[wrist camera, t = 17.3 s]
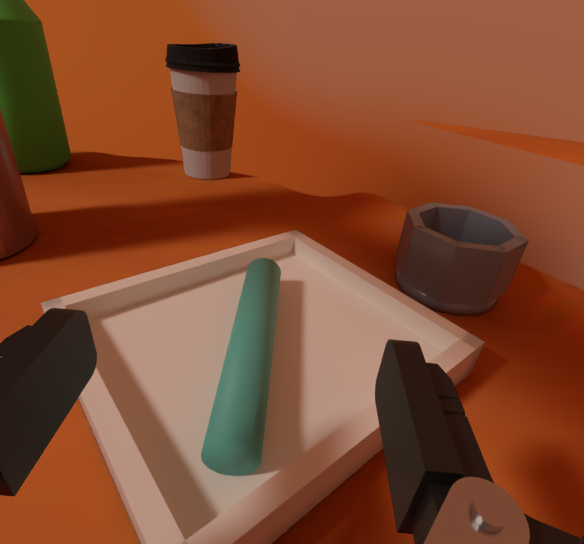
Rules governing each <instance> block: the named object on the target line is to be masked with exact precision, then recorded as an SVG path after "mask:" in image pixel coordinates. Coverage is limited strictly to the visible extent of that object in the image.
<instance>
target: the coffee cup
mask: <svg viewBox="0 0 584 544" xmlns="http://www.w3.org/2000/svg"><path fill="white" fill-rule="evenodd" d="M165 60H166V62H167V65H166V66H167V67H168V68H170V72H171V79H172V86H173V87H172V88H171V91H172V97H173V103H174V109H175V115H176V121H177V127H178V132H179V139H180V145H181V149H182V157H183V164H184V170H185V173H186V175H188V176H190V177H192V178H196V179H205V180H213V179H221V178H224V177H227V176H228V175H229V174H230V165H231V150H232V141H233V130H234V118H235V108H236V97H237V92H236V91H235V88H236V74H237V72H240V70H239V66H240V64H239V60H238V51H237V45H233V44H223V43H212V44H168V45H167V57H166V59H165Z"/></svg>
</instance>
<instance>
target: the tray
mask: <svg viewBox="0 0 584 544" xmlns="http://www.w3.org/2000/svg"><path fill="white" fill-rule="evenodd" d="M259 258H268V259H271V260H273V261H274V262H276V263H277V264H278V266H279V267H280V270H281V278H280V288H279V297H278V307H277V316H276V326H275V335H274V345H273V354H272V364H271V374H270V383H269V393H268V402H267V412H266V421H265V431H264V440H263V450H262V460H261V465H260V466H259V468H258V469H257V470H255V471H254V472H252V473H250V474H247V475H242V476H229V475H223V474H219V473H217V472H214V471H212V470H211V469H209V468H208V467H207V466H206V465H205V464H204V463H203V461H202V459H201V452H202V448H203V444H204V440H205V436H206V432H207V428H208V424H209V420H210V416H211V412H212V408H213V404H214V400H215V396H216V392H217V388H218V384H219V380H220V376H221V372H222V368H223V364H224V360H225V356H226V352H227V348H228V344H229V340H230V336H231V332H232V328H233V324H234V320H235V316H236V312H237V308H238V304H239V300H240V296H241V292H242V288H243V284H244V280H245V276H246V272H247V268H248V266H249V264H250V263H251V262H252V261H254V260H256V259H259ZM41 306H42V309H43V312H44V313H45V312H46V311H48V310H49V309H51V308H62V309H73V310H82V311H84V312H85V313H86V314H87V317H88V320H89V324H90V328H91V332H92V336H93V340H94V344H95V348H96V352H97V363H96V368H95V371H94V373H93V375H92V377H91V379H90V380H89V382H88V383H87V385H86V386H85V388H84V389H83V391H82V393H81V394H80V396H79V397H78V399H79V401H80V404H81V406H82V408H83V411H84V413H85V415H86V418H87V420H88V422H89V425H90V427H91V429H92V432H93V434H94V436H95V439H96V441H97V443H98V445H99V448H100V450H101V452H102V455H103V457H104V459H105V462H106V464H107V466H108V469H109V471H110V473H111V476H112V478H113V480H114V483H115V485H116V487H117V490H118V492H119V494H120V497H121V499H122V501H123V504H124V506H125V508H126V511H127V513H128V515H129V518H130V520H131V522H132V524H133V527H134V529H135V531H136V534H137V536H138V538H139V541H140V543H141V544H272V543H273V542H274V541H275V540H277V539H278V538H279V537H280V536H281V535H282V534H284V533H285V532H286V531H287V530H288V529H289V528H291V527H292V526H293V525H294V524H295V523H296V522H298V521H299V520H300V519H301V518H302V517H303V516H305V515H306V514H307V513H308V512H309V511H310V510H312V509H313V508H314V507H315V506H316V505H317V504H319V503H320V502H321V501H322V500H323V499H324V498H326V497H327V496H328V495H329V494H330V493H331V492H333V491H334V490H335V489H336V488H337V487H338V486H340V485H341V484H342V483H343V482H344V481H345V480H347V479H348V478H349V477H350V476H351V475H352V474H354V473H355V472H356V471H357V470H358V469H359V468H361V467H362V466H363V465H364V464H365V463H366V462H368V461H369V460H370V459H371V458H372V457H374V456H375V455H376V454H377V453H378V452H379V451H381V450H382V449H383V445H382V439H381V433H380V427H379V421H378V415H377V409H376V403H375V384H376V378H377V375H378V371H379V367H380V364H381V360H382V357H383V353H384V349H385V346H386V343H387V341H388V340H389V339H392V340H403V341H414V342H418V343H419V344H420V347H421V349H422V352H423V355H424V358H425V361H426V363H436V364H438V365H439V366H440V367H441V368H442V369H443V370H444V371H445V373H446V374H447V375H448V376H449V377H450V378H451V379H452V381H453V384H454V386H456V385H458V384H459V383H460V382H461V381H462V380H463V379H465V378H466V377H467V376H468V375H469V374H470V373H471V372H472V370H473V367H474V365H475V363H476V361H477V359H478V356H479V354H480V352H481V350H482V348H483V345H484V343H485V342H484V341H482V340H481V339H479V338H477V337H475V336H474V335H472V334H470V333H469V332H467V331H465V330H464V329H462V328H460V327H459V326H457V325H455V324H454V323H452V322H450V321H449V320H447V319H445V318H444V317H442V316H440V315H438V314H437V313H435V312H433V311H432V310H430V309H428V308H427V307H425V306H423V305H422V304H420V303H418V302H417V301H415V300H413V299H412V298H410V297H408V296H406V295H405V294H403V293H401V292H400V291H398V290H396V289H395V288H393V287H391V286H390V285H388V284H386V283H385V282H383V281H381V280H380V279H378V278H376V277H375V276H373V275H371V274H369V273H368V272H366V271H364V270H363V269H361V268H359V267H358V266H356V265H354V264H353V263H351V262H349V261H348V260H346V259H344V258H343V257H341V256H339V255H337V254H336V253H334V252H332V251H331V250H329V249H327V248H326V247H324V246H322V245H321V244H319V243H317V242H316V241H314V240H312V239H311V238H309V237H307V236H306V235H304V234H302V233H300V232H299V231H297V230H292V231H289V232H286V233H282V234H279V235H275V236H272V237H268V238H265V239H261V240H258V241H254V242H251V243H247V244H244V245H240V246H237V247H233V248H230V249H226V250H223V251H219V252H216V253H213V254H209V255H206V256H202V257H199V258H195V259H192V260H188V261H185V262H181V263H178V264H174V265H171V266H167V267H164V268H160V269H157V270H153V271H150V272H147V273H143V274H140V275H136V276H133V277H129V278H126V279H122V280H119V281H115V282H112V283H108V284H105V285H101V286H98V287H94V288H91V289H87V290H84V291H80V292H77V293H74V294H70V295H67V296H63V297H60V298H56V299H53V300H49V301H46V302H42V303H41Z"/></svg>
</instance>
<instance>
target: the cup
mask: <svg viewBox="0 0 584 544" xmlns="http://www.w3.org/2000/svg"><path fill="white" fill-rule="evenodd" d="M527 244H528V239H527V238H526V237H525V236H524V235H523V234H522V233H521V232H520V231H519V230H518V229H517V228H516V227H515V226H514V225H513V223H511V221H508V220H505V219H502V218H500V217H497V216H494V215H492V214H489V213H486V212H483V211H481V210H478V209H475V208H473V207H466V206H458V205H448V204H440V203H429V204H425V205H423V206H419V207H416V208H413V209H410V210H407V214H406V218H405V222H404V226H403V230H402V234H401V238H400V242H399V246H398V250H397V254H396V258H395V260H396V264H397V269H396V273H395V280H396V283H397V285H398V286H399V288H400V289H401V290H402V291H403V292H404V293H405V294H406V295H407V296H409V297H410V298H412V299H413V300H415V301H417V302H418V303H420V304H422V305H424V306H426V307H428V308H431V309H434V310H437V311H440V312H444V313H448V314H454V315H463V316H472V315H479V314H483V313H486V312H488V311H490V310H491V309H492V308H493V307H494V306H495V304H496V301H497V299H498V297H499V296H501V295H502V294H504V293H506V290H507V288H508V286H509V284H510V281H511V279H512V277H513V275H514V273H515V270H516V268H517V266H518V264H519V261H520V259H521V257H522V255H523V252H524V250H525V248H526V246H527Z"/></svg>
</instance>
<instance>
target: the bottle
mask: <svg viewBox="0 0 584 544" xmlns="http://www.w3.org/2000/svg"><path fill="white" fill-rule="evenodd" d="M0 109H1V112H2V116H3V119H4V122H5V126H6V129H7V132H8V136H9V139H10V142H11V146H12V149H13V152H14V156H15V159H16V162H17V166H18V169H19V172H20V173H38V172H45V171H50V170H54V169H57V168H59V167H61V166H63V165H64V164H65V163H66V162H67V161H68V160H69V159H70V157H71V153H70V148H69V144H68V139H67V135H66V130H65V125H64V121H63V116H62V112H61V107H60V103H59V98H58V94H57V89H56V85H55V80H54V76H53V71H52V67H51V62H50V58H49V53H48V49H47V44H46V40H45V36H44V31H43V27H42V23H41V21H40V19H39V18H38V17H37V16H36V14H35V13H34V12H33V11H32V10H31V9H30V7H29V6H28V5H27V4H26V2H25V1H24V0H0Z"/></svg>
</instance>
